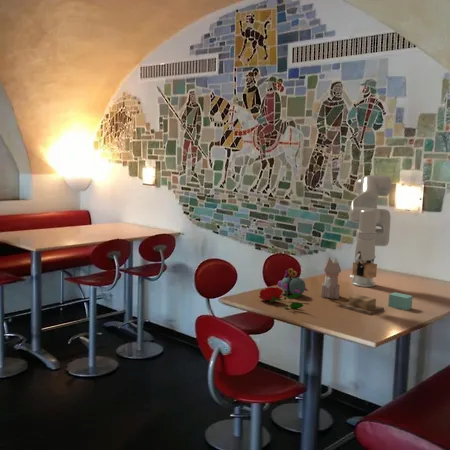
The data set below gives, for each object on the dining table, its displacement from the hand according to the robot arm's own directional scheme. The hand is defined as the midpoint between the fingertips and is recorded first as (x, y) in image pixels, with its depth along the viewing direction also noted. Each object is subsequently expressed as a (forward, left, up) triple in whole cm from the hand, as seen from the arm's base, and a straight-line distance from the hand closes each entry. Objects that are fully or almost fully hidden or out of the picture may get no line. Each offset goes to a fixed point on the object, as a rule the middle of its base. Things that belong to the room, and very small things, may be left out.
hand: (364, 274), depth 259 cm
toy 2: (-21, +3, -17) cm, 27 cm away
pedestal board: (0, 0, -17) cm, 17 cm away
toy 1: (-36, -8, -17) cm, 41 cm away
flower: (-25, -26, -17) cm, 40 cm away
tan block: (0, 0, -1) cm, 1 cm away
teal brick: (+10, +17, -17) cm, 26 cm away
